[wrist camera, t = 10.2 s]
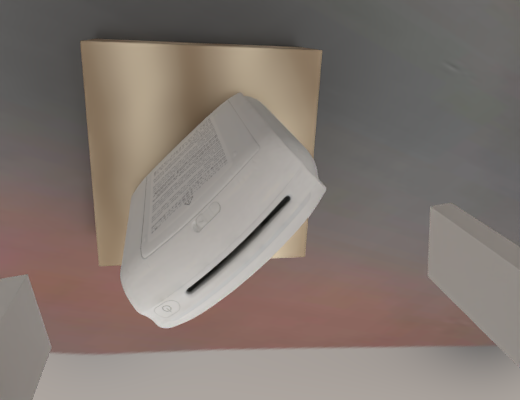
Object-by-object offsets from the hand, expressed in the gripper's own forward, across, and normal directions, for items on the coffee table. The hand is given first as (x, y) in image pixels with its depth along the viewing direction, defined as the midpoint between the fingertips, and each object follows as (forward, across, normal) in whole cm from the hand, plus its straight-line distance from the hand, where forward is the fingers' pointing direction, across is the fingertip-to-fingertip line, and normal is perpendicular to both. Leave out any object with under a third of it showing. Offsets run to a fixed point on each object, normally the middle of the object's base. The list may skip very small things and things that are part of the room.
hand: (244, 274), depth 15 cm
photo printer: (+15, 0, 0) cm, 15 cm away
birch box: (+21, 0, -1) cm, 21 cm away
